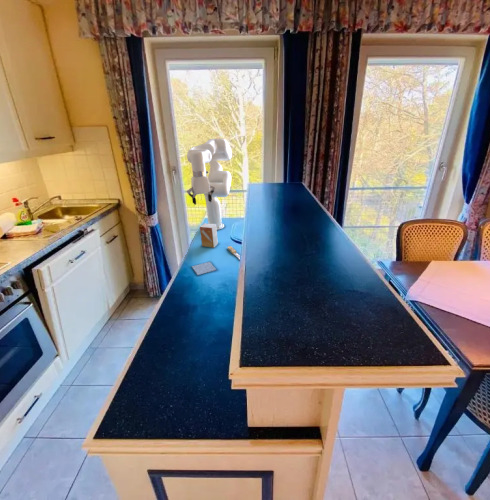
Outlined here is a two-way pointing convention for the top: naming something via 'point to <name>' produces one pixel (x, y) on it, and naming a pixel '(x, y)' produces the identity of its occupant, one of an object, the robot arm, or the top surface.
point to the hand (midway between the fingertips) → (202, 202)
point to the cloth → (203, 268)
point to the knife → (233, 252)
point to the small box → (209, 235)
